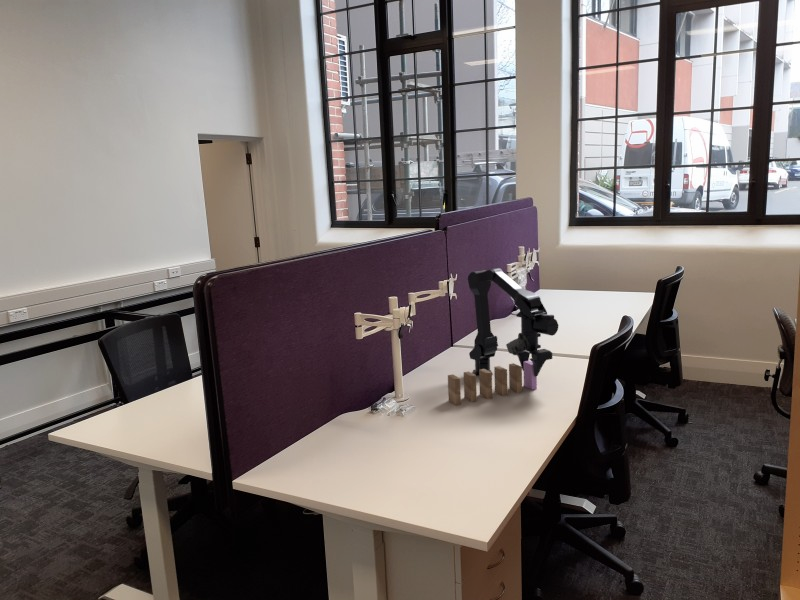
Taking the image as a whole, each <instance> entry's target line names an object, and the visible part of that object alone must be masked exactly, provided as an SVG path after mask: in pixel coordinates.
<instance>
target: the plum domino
mask: <svg viewBox="0 0 800 600" xmlns="http://www.w3.org/2000/svg"><path fill="white" fill-rule="evenodd" d="M523 366H524V371H523V386H524V387H525V388H527V389H530V390H537V388H538V386H537V385H538V383H537V382H538V381H537V377H538V376H536V377H535V376H534V372H533V363H532V361H531V360H528V361H523Z"/></svg>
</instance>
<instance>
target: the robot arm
mask: <svg viewBox="0 0 800 600" xmlns="http://www.w3.org/2000/svg"><path fill="white" fill-rule="evenodd" d="M467 282H468V287H469V290H470V291H471V293H472V294H473V297H474V304H475V305H474V306H475V317H476V327H477V333H476V336H475V337H474V338H475V339H474V347H473V348H472V350H470V352H469V354H468V355H469V358H470V360H474V369H473V370H472V373H473V374H475V375H476V377H479V370H480V369H486V370H488V371H490V372H492V370H491V359H490V358H494V357H495V356H496V352H497V351H498V347H499V343H498V335H494V334H493V332H492V328H491V318H490V307H489V295H488V294H489V292H490V289H491V287H492V282H493V283H495V284H496V285H497V287H499V288H500V289H501V290H503V291H504V292H505V293H506V294H507V295H508V296H509V297H510V298H511V299H513V302H514V305H515V306H516V308H517V309H518V310H519V312H518V313H517V314H516V315H515V317H517V318H520V321H521V322H520V323H521V324H520V329H521V330H520V331H521V332H519V333H518V335H517V338H515V339H513V340H511V341H510V342H508V343H506V344H505V346H506V348H507V351H508V354H512V355H513V356H516V357H518V358H517V359H518V361H519V363H520V366H521V367H522V372H524V366H523V361H530V362H532V363H533V372H534V376H535V377H536V376H537V377H538V376H539V374H540V372H541V370H542V368H543V366H544V364H545V362H547V360H549V361H550V360H552V359H553V351H551V350H550V349H549V350H548V349H546V348H541V344H539V338H540V337H542V335H547V336H555V335H556V333H557V332H558V331H559V323H558V320H557V319H556V318H555V315H554V314H548V312H547V310H546V308H545V306H544V304H543V302H542V299H541V297H540V296H539V295H538V294H536V293H535V292H533V291H531V290H528V289H524V288H523V287H521V286H520V285H519V284H518V283H517V282H515V281H514V279H512V278H511V277H510V276H508V275H507V274H506V273H504V271H503V270H502V268H500V267H495V268H490V269H489V270H486V269H482V270H477V271H471V272H470V273H469V274H468V275H467ZM541 334H542V335H541ZM530 355H531V356H530ZM530 357H531V358H530ZM493 373H494V372H492V376H494V375H493Z"/></svg>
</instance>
